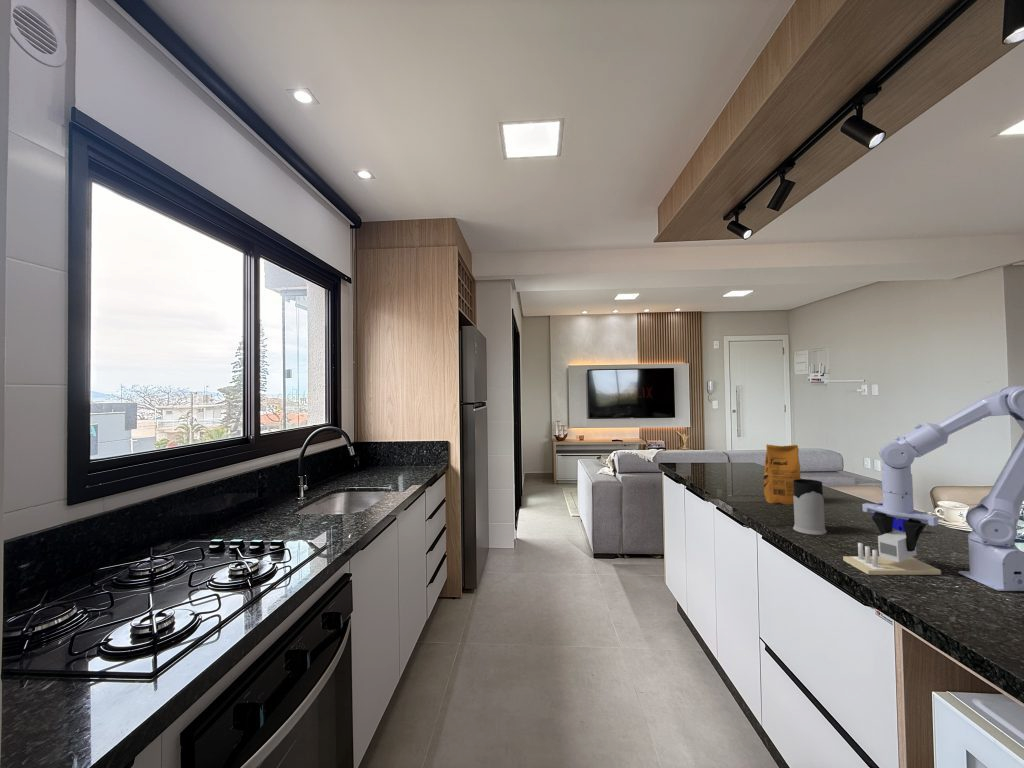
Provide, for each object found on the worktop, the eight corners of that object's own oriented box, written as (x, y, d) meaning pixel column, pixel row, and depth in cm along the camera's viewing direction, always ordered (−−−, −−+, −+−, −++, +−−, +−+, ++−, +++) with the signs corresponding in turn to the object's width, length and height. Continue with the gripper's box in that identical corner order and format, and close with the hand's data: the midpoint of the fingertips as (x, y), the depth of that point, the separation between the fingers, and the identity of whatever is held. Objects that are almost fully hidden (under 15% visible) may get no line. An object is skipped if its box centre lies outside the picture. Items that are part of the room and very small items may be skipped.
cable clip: (873, 521, 146) (872, 503, 146) (889, 522, 145) (888, 503, 145) (897, 533, 134) (896, 513, 134) (914, 533, 133) (913, 513, 133)
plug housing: (929, 550, 112) (928, 529, 112) (898, 562, 106) (897, 541, 106) (909, 545, 116) (908, 525, 116) (878, 556, 110) (877, 536, 110)
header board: (941, 574, 105) (940, 553, 105) (868, 574, 106) (867, 553, 106) (909, 560, 114) (909, 540, 114) (843, 560, 115) (842, 540, 115)
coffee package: (763, 497, 180) (760, 442, 181) (799, 500, 175) (797, 443, 176) (765, 503, 171) (762, 445, 172) (803, 506, 166) (801, 446, 166)
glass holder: (799, 534, 136) (797, 484, 136) (782, 520, 150) (780, 475, 150) (832, 535, 134) (830, 484, 134) (812, 521, 148) (810, 475, 148)
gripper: (943, 495, 105) (946, 554, 105) (872, 484, 118) (874, 536, 118) (928, 499, 102) (930, 559, 102) (856, 487, 115) (859, 541, 115)
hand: (899, 547), depth 110 cm, fingers closed on plug housing, 4 cm apart
